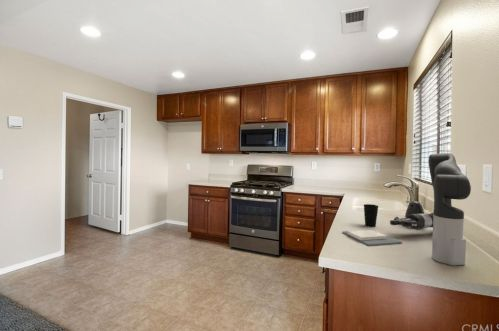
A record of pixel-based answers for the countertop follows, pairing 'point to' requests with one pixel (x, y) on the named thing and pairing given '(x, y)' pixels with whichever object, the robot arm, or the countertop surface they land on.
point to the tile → (367, 235)
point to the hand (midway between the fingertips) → (391, 222)
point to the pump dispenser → (414, 208)
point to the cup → (370, 214)
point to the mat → (375, 240)
